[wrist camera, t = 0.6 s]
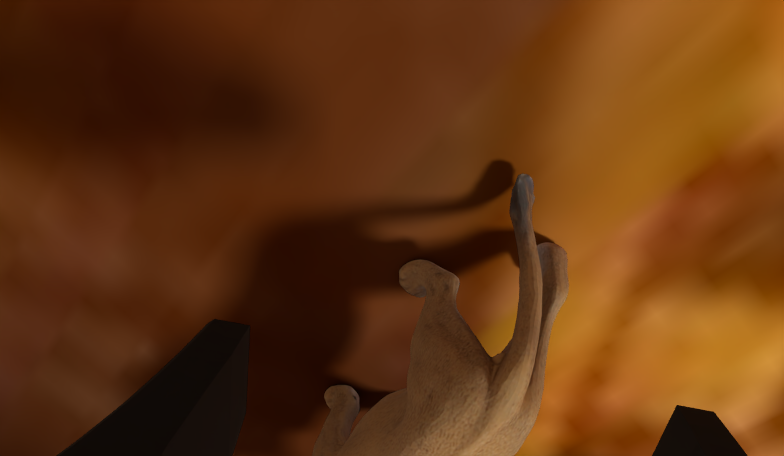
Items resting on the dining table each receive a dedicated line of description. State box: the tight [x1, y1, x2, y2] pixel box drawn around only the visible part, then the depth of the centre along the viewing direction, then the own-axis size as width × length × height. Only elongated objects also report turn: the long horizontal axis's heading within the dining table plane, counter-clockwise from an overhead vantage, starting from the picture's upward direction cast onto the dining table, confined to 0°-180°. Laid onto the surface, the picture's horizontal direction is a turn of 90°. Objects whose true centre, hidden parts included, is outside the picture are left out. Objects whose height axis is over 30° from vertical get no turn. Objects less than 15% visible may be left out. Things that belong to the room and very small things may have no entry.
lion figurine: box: [312, 174, 569, 456], centre depth 21 cm, size 15×5×9 cm, turn 160°
